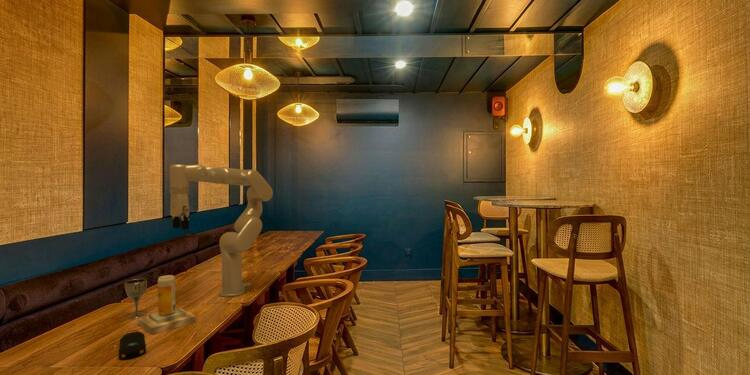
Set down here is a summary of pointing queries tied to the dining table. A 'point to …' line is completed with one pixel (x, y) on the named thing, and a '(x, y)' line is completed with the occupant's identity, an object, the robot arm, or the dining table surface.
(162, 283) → the glass of juice
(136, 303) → the wine glass
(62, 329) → the dining table surface
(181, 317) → the riser
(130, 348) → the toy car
